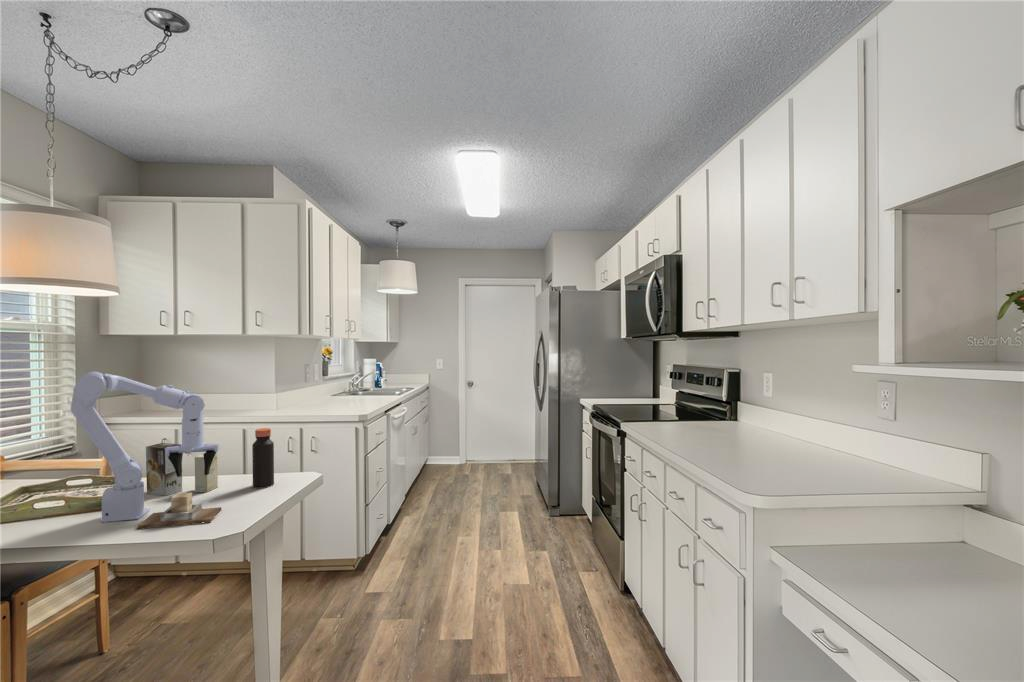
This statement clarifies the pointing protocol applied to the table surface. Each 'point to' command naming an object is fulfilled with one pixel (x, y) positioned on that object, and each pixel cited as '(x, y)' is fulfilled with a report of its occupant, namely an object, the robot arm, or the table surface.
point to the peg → (181, 503)
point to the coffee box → (161, 471)
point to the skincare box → (205, 481)
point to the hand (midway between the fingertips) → (193, 475)
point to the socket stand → (180, 517)
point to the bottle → (263, 459)
